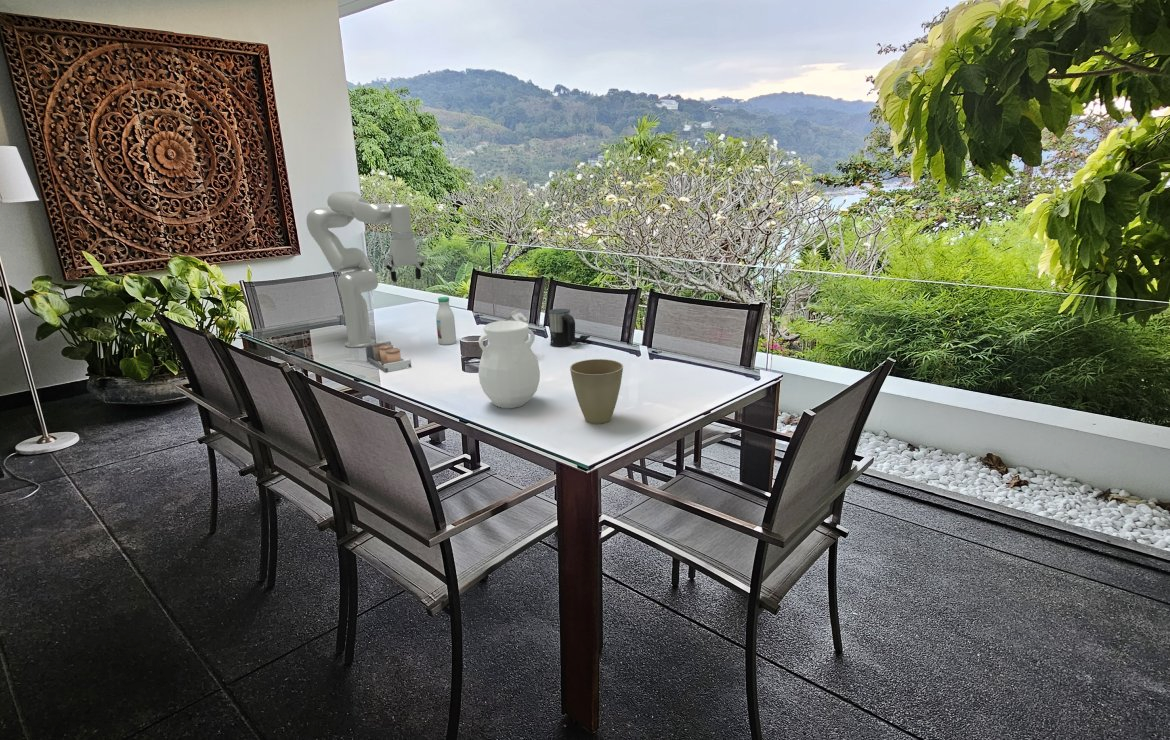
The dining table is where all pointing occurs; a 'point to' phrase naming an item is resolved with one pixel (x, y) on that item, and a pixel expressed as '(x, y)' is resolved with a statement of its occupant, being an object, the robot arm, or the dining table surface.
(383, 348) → the jar
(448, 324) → the milk bottle
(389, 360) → the jar
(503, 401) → the white vase
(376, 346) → the pusher plate
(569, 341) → the milk frother
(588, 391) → the plant pot
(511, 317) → the milk carton
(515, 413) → the dining table surface
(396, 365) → the grey holder stand
